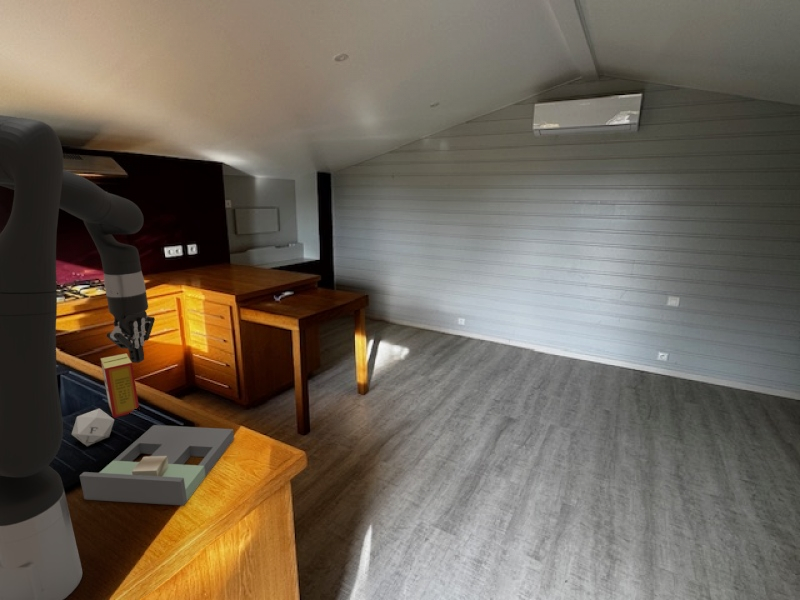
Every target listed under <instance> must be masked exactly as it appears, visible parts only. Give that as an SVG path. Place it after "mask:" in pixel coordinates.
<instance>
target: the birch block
mask: <svg viewBox="0 0 800 600" xmlns="http://www.w3.org/2000/svg"><path fill="white" fill-rule="evenodd" d="M138 462H139V463H138V465H137V466H136V467H135V468H134V470H133V471H132V474H133V475H144V476H161V477H162V476H163V474H164V473H165V471H166V470H167V469H168V460H167V456H151V455H150V456H143V457H142V459H141V460H140V461H138Z"/></svg>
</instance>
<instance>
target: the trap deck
mask: <svg viewBox="0 0 800 600" xmlns="http://www.w3.org/2000/svg"><path fill="white" fill-rule="evenodd" d="M234 440H235V435H234V429H233V428H216V427H215V428H214V427H200V426H199V427H197V426H178V425H160V424H159V425H158V424H153V425H152V426H150V427H149V429H148V430H146V431H144V433H143V434H142V435H141V436H139V438H137V439H136V440H135V441H133V443H131V444H130V445H129V446H128V447H127V448H125V449H124V451H122V452H121V453H120V454H119V455H118V456H117V457H116V458H114V459H113V460H112V461H111V462H110V463H109V464H106V466H105V467H104V468H103V469H102V470H100V471H99V472H92V471H91V472H89V471H83V472H82V473H81V474H80V475H79V479H80V484H81V485H80V486H81V489H82V495H83V499H84V500H88V501H89V500H91V501H104V502H105V501H106V502H122V503H137V504H138V503H139V504H156V505H170V506H171V505H172V506H185V505H186V503H187V502H188V501H189V499H190V498H191V497H192V495H193V494H194V493H195V491H196V490H197V489H198V487H199V486H200V484H201V483H202V482H203V481H204V479H206V476H207V475H208V474H209V473H210V472H211V471H212V469H213V468H214V466H215V465H216V464H217V462H218V461H219V459H220V458H221V457H222V456H223V455H224V453H225V452H226V451H227V449H228V447H229V446H230V445H231V444H232V442H233V441H234ZM141 454H144V455H145V454H148V455H150V456H167V460H168V469H167V470H166V471H165V473H164V474H163V476H162V477H161V476H144V475H133V474H132V471H133V470H134V468H135V467H136V466H137V465H138V463H139V462H140V461H134V460H135V459H137V458H138V456H140V455H141ZM191 457H198V458H199V457H200V458H203V459H202V460H201V461H200V462H199V463H198V465H196V464H185V463H186V462H187V461H188V460H189V459H190V458H191Z"/></svg>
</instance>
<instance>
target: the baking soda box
mask: <svg viewBox="0 0 800 600" xmlns="http://www.w3.org/2000/svg"><path fill="white" fill-rule="evenodd" d="M99 359H100V363H101V369H102V375H103V379H104V381H103V382H104V387H105V391H106V397H107V403H108V407H109V410H110V412H111V415H112V418H113V419H115V418H118V417H123V416H126V415H130V414H131V413H130V412H132V411H133V410H134V409H137V408H138V407H139V408H140V405H139V398H138V393H137V386H136V380H135V374H134V368H133V362H132V361H131V360H130V356H129V355H128V353H126V352H125V353H121V354H113V355H109V356H105V357H104V356H103V357H100V358H99ZM129 413H130V414H129Z"/></svg>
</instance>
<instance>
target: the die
mask: <svg viewBox="0 0 800 600" xmlns="http://www.w3.org/2000/svg"><path fill="white" fill-rule="evenodd" d="M114 422H115V418H113V417H111V415H109V414H108V413H106V412H105V411H103V410H102V409H101V408H96V409H94V410H91V411H87V412H86V413H83V414H80V415H77V416H76V418H75V423H74V425H73V427H72V431H71V436H73V437H74V438H75V439H77V440H78V441H79V442H81V443H82V444H83V445H85V446H86V447H89V446H91V445H94V444H95V443H98V442H101V441H103V440H105V439H108V438H110V435H111V432H112V429H113V426H114Z"/></svg>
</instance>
